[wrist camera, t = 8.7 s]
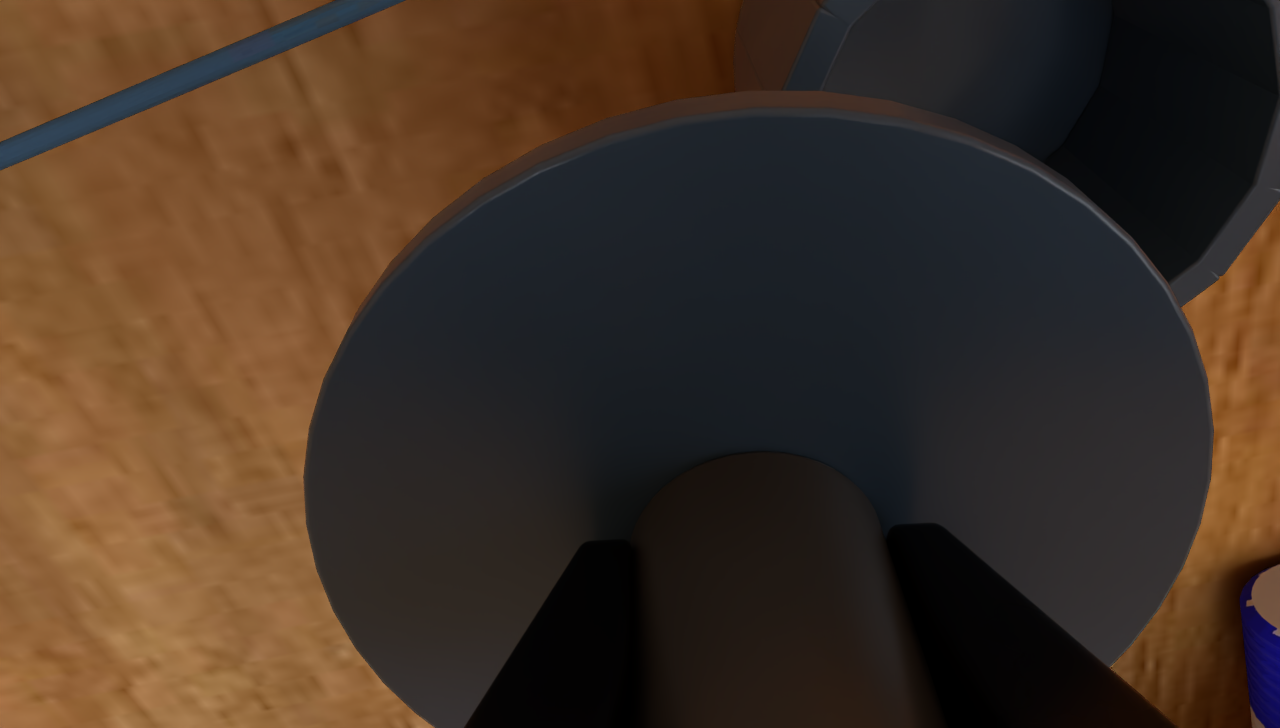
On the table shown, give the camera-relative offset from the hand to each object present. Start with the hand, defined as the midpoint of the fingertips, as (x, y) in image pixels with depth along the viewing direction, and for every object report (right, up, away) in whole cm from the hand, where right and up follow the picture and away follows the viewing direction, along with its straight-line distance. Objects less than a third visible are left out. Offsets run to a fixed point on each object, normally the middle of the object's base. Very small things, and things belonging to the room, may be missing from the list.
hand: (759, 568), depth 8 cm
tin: (+4, +7, +9) cm, 12 cm away
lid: (0, 0, +1) cm, 1 cm away
